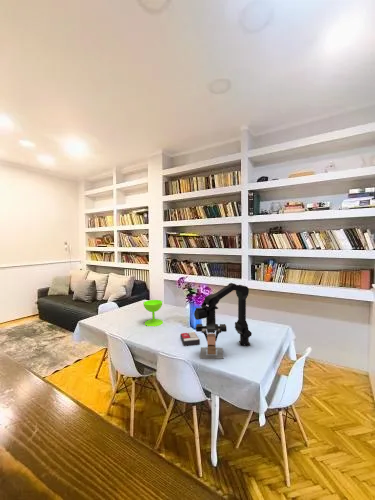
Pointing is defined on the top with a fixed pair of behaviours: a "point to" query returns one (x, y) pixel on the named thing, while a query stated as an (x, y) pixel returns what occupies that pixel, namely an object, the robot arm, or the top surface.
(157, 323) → the wineglass
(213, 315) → the robot arm
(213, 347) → the base block
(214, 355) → the build plate
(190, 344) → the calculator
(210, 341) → the top block
